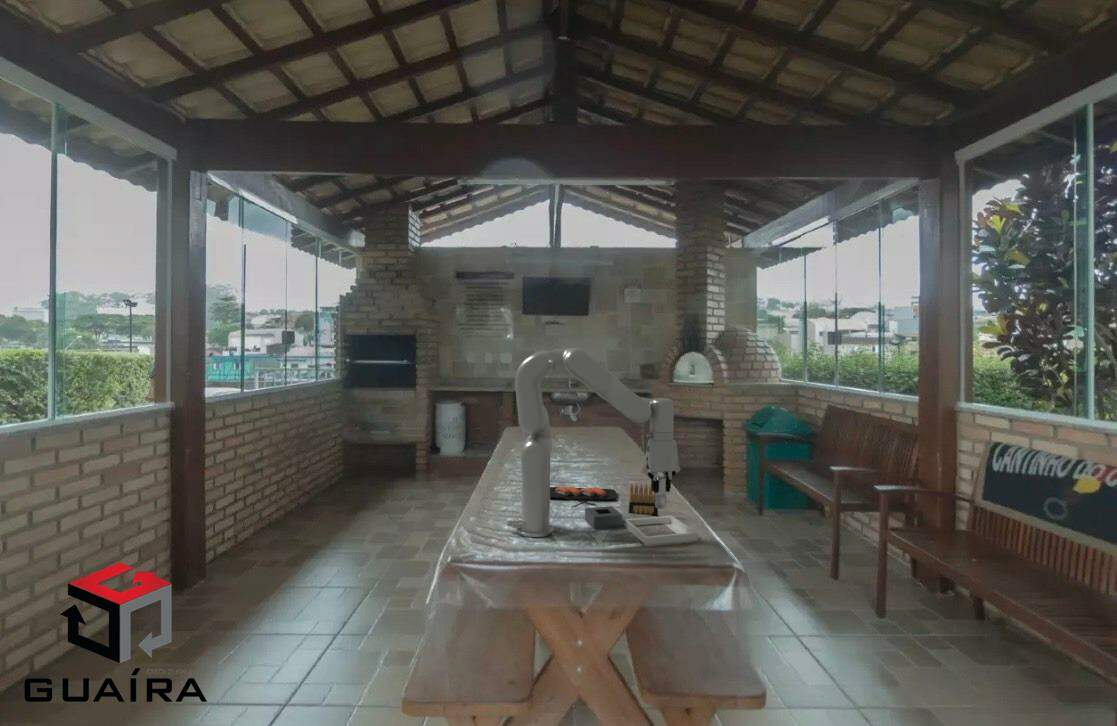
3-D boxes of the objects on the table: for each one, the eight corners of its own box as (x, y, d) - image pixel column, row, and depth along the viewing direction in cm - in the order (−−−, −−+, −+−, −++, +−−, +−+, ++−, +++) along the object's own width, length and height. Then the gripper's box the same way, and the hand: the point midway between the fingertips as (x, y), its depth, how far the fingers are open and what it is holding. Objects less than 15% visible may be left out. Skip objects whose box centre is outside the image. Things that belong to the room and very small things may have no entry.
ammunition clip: (628, 515, 212) (628, 483, 212) (628, 514, 214) (628, 482, 213) (658, 517, 211) (658, 484, 210) (657, 515, 213) (658, 483, 212)
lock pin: (658, 508, 190) (658, 478, 189) (653, 505, 193) (653, 476, 193) (668, 508, 191) (668, 477, 190) (663, 504, 194) (663, 475, 194)
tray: (645, 547, 181) (645, 537, 181) (623, 528, 199) (623, 519, 199) (697, 542, 186) (697, 533, 186) (671, 524, 204) (671, 515, 203)
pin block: (594, 531, 195) (594, 517, 195) (584, 522, 204) (585, 508, 204) (622, 529, 198) (622, 514, 197) (611, 520, 207) (611, 506, 207)
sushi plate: (615, 493, 243) (616, 484, 243) (616, 516, 213) (616, 506, 213) (546, 491, 246) (547, 482, 246) (538, 513, 216) (538, 502, 216)
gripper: (642, 439, 185) (642, 496, 186) (690, 437, 189) (689, 492, 190) (633, 435, 192) (633, 490, 193) (679, 433, 196) (678, 486, 197)
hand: (660, 490), depth 192 cm, fingers closed on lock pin, 3 cm apart
